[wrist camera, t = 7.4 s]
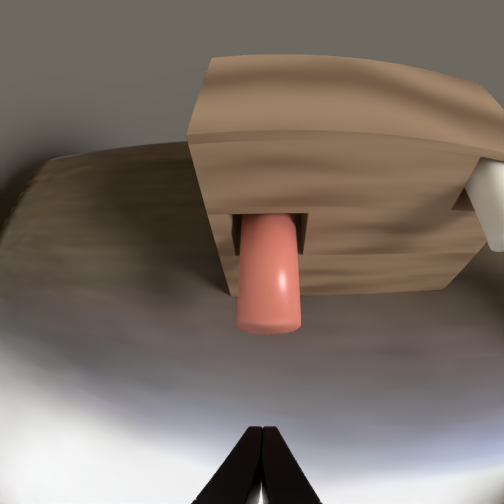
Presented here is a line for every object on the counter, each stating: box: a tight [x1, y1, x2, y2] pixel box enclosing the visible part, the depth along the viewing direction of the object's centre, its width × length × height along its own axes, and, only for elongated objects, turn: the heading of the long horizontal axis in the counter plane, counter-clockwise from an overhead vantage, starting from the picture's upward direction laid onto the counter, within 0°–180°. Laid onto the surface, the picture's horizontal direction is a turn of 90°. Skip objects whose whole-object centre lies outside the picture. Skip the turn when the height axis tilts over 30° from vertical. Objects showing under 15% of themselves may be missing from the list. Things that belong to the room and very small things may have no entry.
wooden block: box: [186, 54, 504, 296], centre depth 19 cm, size 8×18×15 cm, turn 89°
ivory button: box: [464, 157, 504, 252], centre depth 13 cm, size 7×3×3 cm, turn 179°
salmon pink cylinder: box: [237, 213, 301, 335], centre depth 16 cm, size 7×3×3 cm, turn 179°
